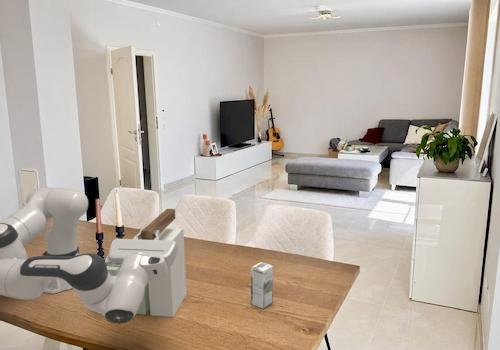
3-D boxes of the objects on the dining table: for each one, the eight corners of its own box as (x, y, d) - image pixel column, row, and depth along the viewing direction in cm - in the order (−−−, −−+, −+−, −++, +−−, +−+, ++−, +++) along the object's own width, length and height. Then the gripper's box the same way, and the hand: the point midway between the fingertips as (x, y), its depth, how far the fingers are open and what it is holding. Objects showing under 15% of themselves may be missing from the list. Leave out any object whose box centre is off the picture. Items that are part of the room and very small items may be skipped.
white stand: (150, 315, 144) (145, 243, 139) (166, 293, 159) (162, 227, 154) (173, 316, 143) (168, 244, 137) (186, 294, 158) (183, 228, 153)
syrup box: (260, 298, 154) (260, 261, 151) (273, 303, 151) (273, 265, 148) (250, 304, 150) (250, 266, 147) (263, 309, 146) (263, 270, 143)
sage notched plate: (107, 312, 147) (103, 269, 143) (113, 304, 151) (109, 263, 148) (145, 314, 145) (142, 271, 141) (150, 306, 150) (147, 264, 146)
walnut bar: (141, 242, 129) (140, 231, 128) (167, 218, 152) (166, 208, 151) (151, 242, 128) (150, 231, 128) (175, 218, 152) (174, 208, 151)
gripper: (106, 272, 125) (121, 236, 135) (172, 275, 122) (183, 238, 132) (99, 259, 121) (116, 223, 131) (168, 262, 118) (179, 225, 128)
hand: (150, 231), depth 132 cm, fingers closed on walnut bar, 3 cm apart
